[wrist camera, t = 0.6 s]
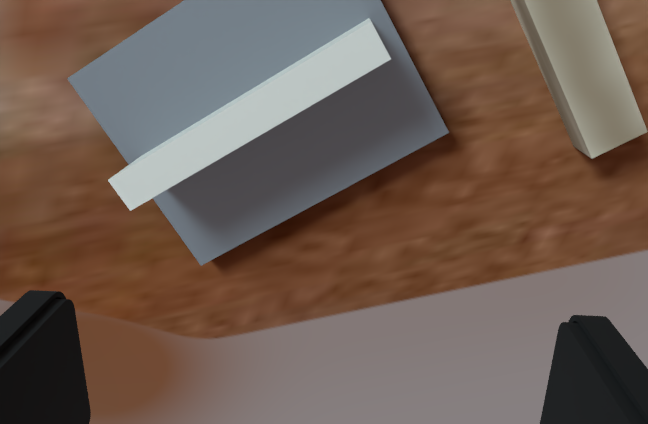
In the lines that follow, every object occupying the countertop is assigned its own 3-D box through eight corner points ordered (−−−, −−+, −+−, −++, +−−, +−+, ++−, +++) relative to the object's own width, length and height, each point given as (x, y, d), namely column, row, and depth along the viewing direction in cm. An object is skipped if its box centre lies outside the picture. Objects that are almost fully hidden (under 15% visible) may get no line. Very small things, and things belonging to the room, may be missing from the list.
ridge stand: (331, -93, 31) (325, -116, 25) (445, 127, 35) (464, 154, 29) (78, 75, 35) (20, 91, 29) (206, 256, 39) (178, 303, 33)
